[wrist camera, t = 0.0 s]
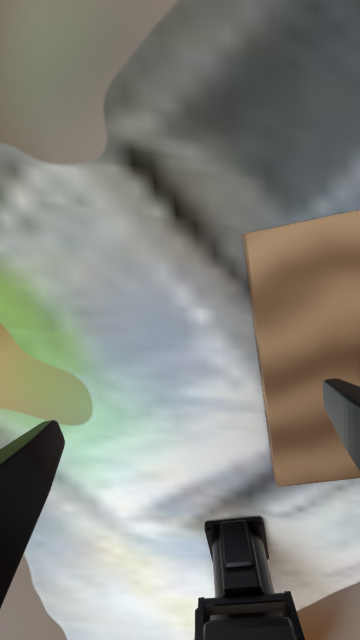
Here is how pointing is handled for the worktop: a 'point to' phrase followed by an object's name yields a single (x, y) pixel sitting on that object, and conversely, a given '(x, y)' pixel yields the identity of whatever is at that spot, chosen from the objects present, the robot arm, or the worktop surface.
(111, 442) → the worktop surface
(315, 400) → the post board
